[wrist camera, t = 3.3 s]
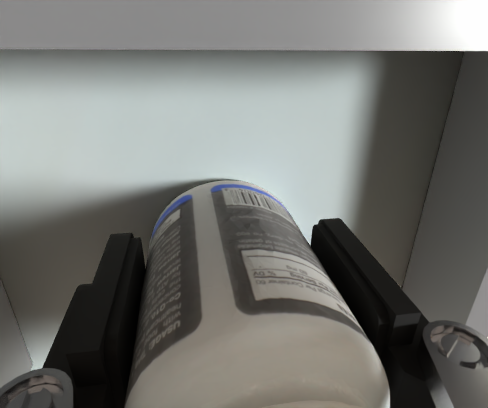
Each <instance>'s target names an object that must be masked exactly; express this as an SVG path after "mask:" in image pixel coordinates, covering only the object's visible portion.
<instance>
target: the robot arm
mask: <svg viewBox="0 0 488 408" xmlns="http://www.w3.org/2000/svg"><path fill="white" fill-rule="evenodd" d="M311 248H312V250H313V251H314V253H315V254H316V256H317V257H318V259H319V261H320V262H321V264H322V266H323V267H324V269H325V271H326V273H327V274H328V276H329V277H330V279H331V281H332V282H333V283H334V285H335V286H336V288H337V290H338V291H339V293H340V294H341V296H342V298H343V299H344V301H345V303H346V304H347V306H348V307H349V309H350V311H351V312H352V314H353V315H354V317H355V319H356V320H357V322H358V323H359V325H360V326H361V328H362V330H363V331H364V333H365V334H366V336H367V338H368V339H369V340H370V342H371V343H372V345H373V347H374V348H375V350H376V351H377V353H378V356H379V358H380V360H381V363H382V365H383V368H384V370H385V373H386V376H387V380H388V385H389V390H390V408H488V338H487V337H485V336H484V335H483V334H481V333H480V332H478V331H477V330H475V329H473V328H471V327H469V326H467V325H464V324H461V323H458V322H454V321H448V320H436V321H433V322H429V321H428V320H427V319H426V318H425V316H424V315H423V314H422V312H421V311H420V310H419V309H418V308H417V306H416V305H415V304H414V303H413V302H412V301H411V300H410V298H409V297H408V296H407V295H406V294H405V293H404V291H403V290H402V289H401V288H400V287H399V286H398V285H397V283H396V282H395V281H394V280H393V279H392V278H391V277H390V275H389V274H388V273H387V272H386V271H385V270H384V268H383V267H382V266H381V265H380V264H379V263H378V262H377V260H376V259H375V258H374V257H373V256H372V255H371V253H370V252H369V251H368V250H367V249H366V248H365V247H364V245H363V244H362V243H361V242H360V241H359V240H358V238H357V237H356V236H355V235H354V234H353V233H352V232H351V230H350V229H349V228H348V227H347V226H346V225H345V223H344V222H343V221H342V220H341V219H340V218H335V219H321V220H320V221H319V223H318V225H314V226H313V230H312V238H311ZM145 270H146V269H145V262H144V255H143V248H142V242H141V238H134V236H133V234H132V233H124V234H111V235H110V237H109V240H108V243H107V245H106V248H105V251H104V253H103V256H102V259H101V261H100V264H99V267H98V269H97V272H96V275H95V277H94V280H93V283H92V284H83V285H79V286H78V287H77V289H76V291H75V293H74V295H73V298H72V300H71V302H70V305H69V307H68V309H67V312H66V314H65V316H64V319H63V321H62V323H61V326H60V328H59V330H58V333H57V335H56V337H55V340H54V342H53V344H52V347H51V349H50V351H49V354H48V356H47V358H46V361H45V363H44V365H43V368H42V369H37V370H33V371H29V372H27V373H25V374H22V375H20V376H17V377H16V378H14V379H13V380H11V381H10V382H8V383H6V384H5V385H3V386H2V387H1V388H0V408H124V405H125V399H126V393H127V388H128V382H129V375H130V370H131V366H132V357H133V350H134V343H135V338H136V330H137V321H138V315H139V306H140V301H141V291H142V287H143V281H144V275H145Z"/></svg>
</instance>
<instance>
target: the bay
mask: <svg viewBox="0 0 488 408" xmlns="http://www.w3.org/2000/svg"><path fill="white" fill-rule="evenodd" d="M0 49H76V50H355V51H465V52H464V56H463V59H462V63H461V67H460V71H459V75H458V78H457V82H456V86H455V90H454V94H453V97H452V101H451V105H450V109H449V113H448V116H447V120H446V124H445V128H444V132H443V135H442V139H441V143H440V147H439V151H438V154H437V158H436V162H435V166H434V170H433V173H432V177H431V181H430V185H429V189H428V192H427V196H426V200H425V204H424V208H423V211H422V215H421V219H420V223H419V227H418V230H417V234H416V238H415V242H414V246H413V249H412V253H411V257H410V261H409V265H408V268H407V272H406V276H405V280H404V283H403V287H402V290H403V291H404V293H405V294H406V295H407V296H408V297H409V298H410V300H411V301H412V302H413V303H414V304H415V305H416V306H417V308H418V309H419V310H420V311H421V312H422V314H423V315H424V316H425V318H426V319H427V320H428V321H429V322H433V321H436V320H448V321H454V322H458V323H461V324H464V325H467V326H469V327H471V328H473V329H475V330H477V331H478V332H480V333H481V334H483V335H484V336H485V337H488V0H0ZM32 366H33V364H32V361H31V358H30V356H29V353H28V350H27V348H26V345H25V342H24V340H23V337H22V334H21V332H20V329H19V326H18V323H17V321H16V318H15V315H14V313H13V310H12V307H11V305H10V302H9V299H8V297H7V294H6V291H5V289H4V286H3V283H2V281H1V278H0V388H1V387H2V386H3V385H5V384H6V383H8V382H10V381H11V380H13V379H14V378H16V377H17V376H20V375H22V374H25V373H27V372H29V371H30V370H31V368H32Z"/></svg>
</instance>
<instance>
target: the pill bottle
mask: <svg viewBox="0 0 488 408" xmlns="http://www.w3.org/2000/svg"><path fill="white" fill-rule="evenodd" d="M124 408H390V390H389V385H388V380H387V376H386V373H385V370H384V368H383V365H382V363H381V360H380V358H379V356H378V353H377V351H376V350H375V348H374V347H373V345H372V343H371V342H370V340H369V339H368V338H367V336H366V334H365V333H364V331H363V330H362V328H361V326H360V325H359V323H358V322H357V320H356V319H355V317H354V315H353V314H352V312H351V311H350V309H349V307H348V306H347V304H346V303H345V301H344V299H343V298H342V296H341V294H340V293H339V291H338V290H337V288H336V286H335V285H334V283H333V282H332V281H331V279H330V277H329V276H328V274H327V273H326V271H325V269H324V267H323V266H322V264H321V262H320V261H319V259H318V257H317V256H316V254H315V253H314V251H313V250H312V248H311V246H310V245H309V243H308V242H307V240H306V239H305V237H304V236H303V234H302V232H301V231H300V230H299V227H298V226H297V225H296V223H295V221H294V220H293V218H292V216H291V215H290V213H289V212H288V211H287V209H286V208H285V207H284V205H283V204H282V203H281V202H280V201H279V200H278V199H277V198H276V197H275V196H274V195H272V194H271V193H270V192H268V191H266V190H265V189H263V188H261V187H259V186H256V185H254V184H251V183H248V182H243V181H230V180H226V181H216V182H210V183H206V184H203V185H199V186H197V187H194V188H192V189H190V190H188V191H186V192H184V193H182V194H181V195H179V196H178V197H177V198H175V199H174V200H173V201H172V202H171V203H170V204H169V205H168V206H167V207H166V208H165V209H164V211H163V212H162V213H161V215H160V217H159V218H158V220H157V222H156V224H155V227H154V229H153V232H152V236H151V240H150V245H149V251H148V258H147V264H146V270H145V275H144V281H143V287H142V291H141V301H140V306H139V315H138V321H137V330H136V338H135V343H134V350H133V357H132V366H131V370H130V375H129V382H128V388H127V393H126V399H125V405H124Z"/></svg>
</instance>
